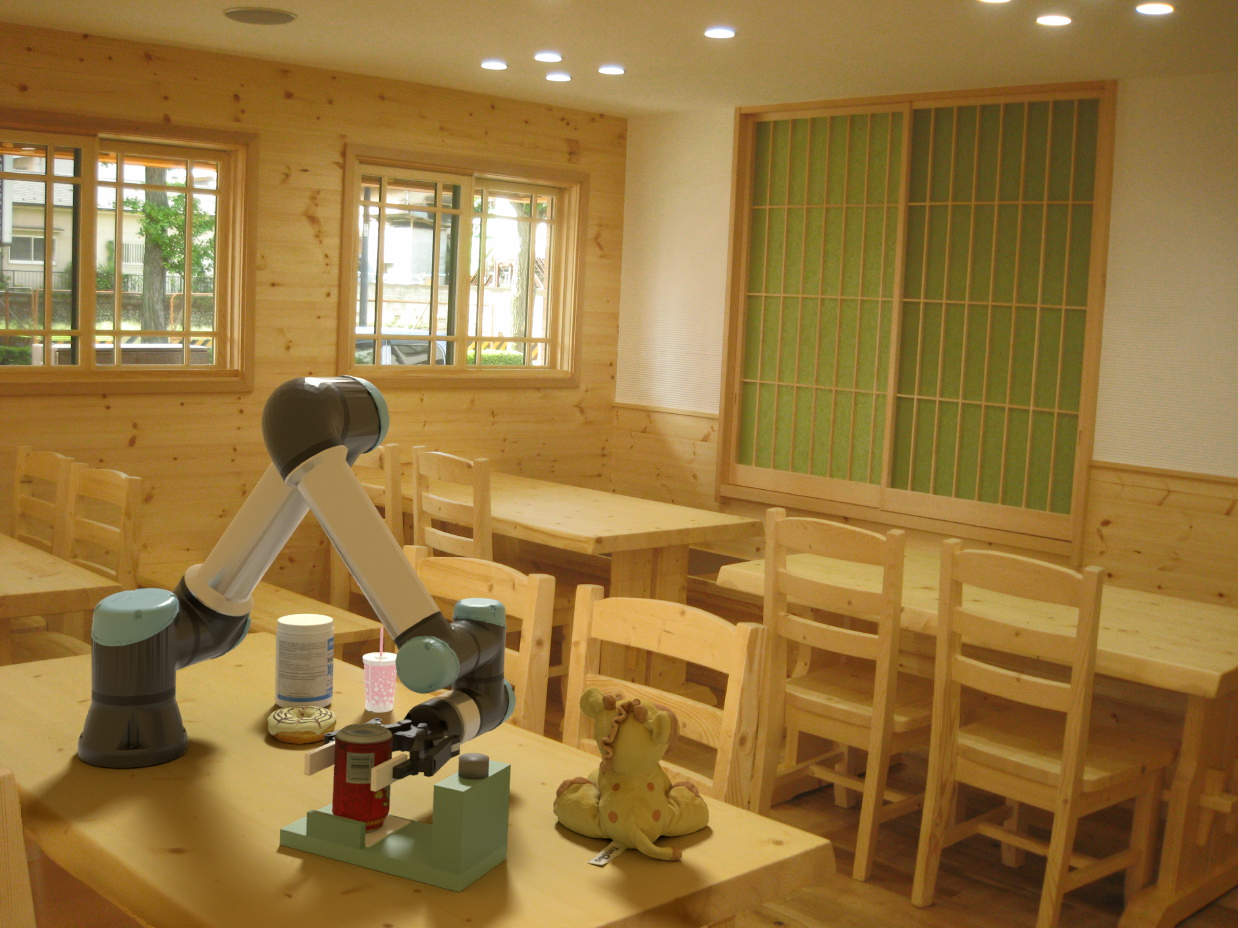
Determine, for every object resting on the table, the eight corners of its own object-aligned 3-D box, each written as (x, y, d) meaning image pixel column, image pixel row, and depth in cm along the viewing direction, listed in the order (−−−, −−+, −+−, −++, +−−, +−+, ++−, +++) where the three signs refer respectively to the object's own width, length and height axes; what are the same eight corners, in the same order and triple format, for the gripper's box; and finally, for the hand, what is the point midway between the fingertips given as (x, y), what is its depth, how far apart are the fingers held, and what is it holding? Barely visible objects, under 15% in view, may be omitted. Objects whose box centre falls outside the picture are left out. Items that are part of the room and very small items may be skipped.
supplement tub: (340, 708, 213) (343, 622, 211) (285, 714, 207) (287, 627, 206) (320, 693, 221) (322, 611, 219) (266, 699, 215) (269, 615, 214)
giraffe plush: (714, 810, 175) (722, 675, 173) (690, 879, 152) (699, 725, 150) (572, 792, 179) (578, 660, 177) (527, 857, 156) (534, 706, 154)
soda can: (392, 832, 155) (396, 735, 154) (334, 836, 153) (337, 737, 152) (385, 813, 162) (389, 719, 161) (329, 816, 159) (332, 721, 159)
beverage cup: (405, 707, 215) (407, 627, 213) (380, 715, 209) (382, 633, 208) (378, 700, 218) (381, 621, 216) (353, 708, 213) (355, 627, 211)
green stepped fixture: (279, 844, 156) (282, 734, 154) (334, 815, 166) (337, 712, 164) (459, 891, 145) (464, 774, 144) (506, 858, 155) (511, 748, 154)
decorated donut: (260, 745, 192) (260, 721, 192) (275, 723, 203) (275, 700, 203) (329, 747, 193) (329, 723, 193) (340, 725, 204) (341, 702, 203)
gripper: (508, 765, 169) (414, 820, 148) (373, 737, 177) (267, 784, 157) (511, 711, 168) (417, 758, 147) (375, 685, 177) (268, 726, 156)
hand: (339, 772), depth 152 cm, fingers open, 9 cm apart
